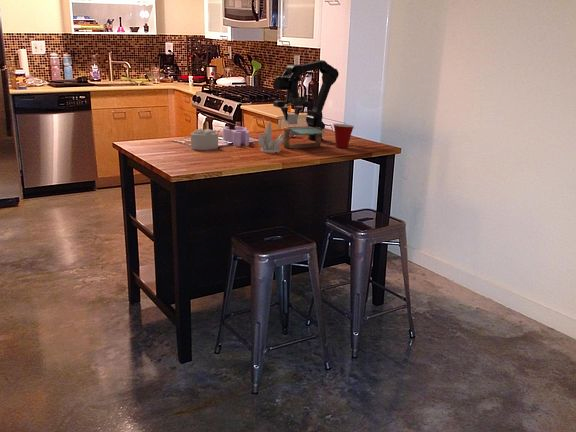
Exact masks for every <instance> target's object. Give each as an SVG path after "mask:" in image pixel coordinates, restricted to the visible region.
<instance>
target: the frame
mask: <svg viewBox="0 0 576 432" xmlns="http://www.w3.org/2000/svg"><path fill="white" fill-rule="evenodd" d="M316 129H319V130H321V129H322V128H320V127H316ZM322 130H323V129H322ZM290 131H291V129H287V128H284V129H283V138H284V139H283V148H284V149H297V148H298V149H300V148H316V147H321V145H322V142H321V141H322V140H321V133H317V134H316V140H314V142H310V143H309V142H308V143H290V137H291V135H290Z"/></svg>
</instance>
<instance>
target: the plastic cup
mask: <svg viewBox="0 0 576 432" xmlns="http://www.w3.org/2000/svg"><path fill="white" fill-rule="evenodd" d="M354 127H355V125H353V124H347V123H333V128H334V136H335V146H336V148H337V149H348V147H349V144H350V141H351V136H352V132H353V129H354Z"/></svg>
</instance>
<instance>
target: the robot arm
mask: <svg viewBox="0 0 576 432" xmlns="http://www.w3.org/2000/svg"><path fill="white" fill-rule="evenodd" d="M315 70H316V71H317V70H319V72H320V73H321V75H322V76H321V82H322V83H321V87H320V89H319V92H318V94H317V97H316V100H315V103H314V104H313V105H314V106H313V108H312V109H311V110H310V109H308V111H307V114H306V115H305V122H306V124H307V126H311V127H314V128H316V127H320V128H322V129H321V130H322V131H323V130H325V128H326V124H325V123H324V122H323V117H324V116H323V109H324V107H325V104H326V100H327V98H328V96H329V93H330V91H331V87H332V86H333V85H334V84H335V83H336V82H337V80H338V78H339V74H340V73H339V70H338V69H337V68H335V67H334V66H332V65H331V64H329V63H328V61H326V60H322V59H318V60H316V61H312V62H307V63H303V64H288V65H287V66H286V67H285V70H284V72H283V73H282V75H281V76H275V79H274V81H273V82H272V83H273V84H272V85H273V89H274V90H275V91H285V95H286V99H285V100H274V101H273V104H272V105H273V107H275V108H280V110H281V112H282V114H283V117H284V121H285V120H286V121H287V113H288V110H289V107H288V106H290V107H292V106H294V114H298V116H300V113H301V111H302V110H303V109H305V108H310V107H311V104H310V101H308V100H307V98H306V96H304V95H303V96H300V92H299V82H302V81H303V80H302V78H300V76H302V75H303V74H304V73H308V72H312V71H315ZM307 139H308V140H311V141H315V140H316V134H314V135H308V137H307ZM323 140H324V138H323V133H321V141H323Z"/></svg>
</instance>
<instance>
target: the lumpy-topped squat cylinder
mask: <svg viewBox="0 0 576 432" xmlns="http://www.w3.org/2000/svg"><path fill="white" fill-rule="evenodd" d="M190 149H192V150H200V151H207V150H215V149H219V133H218V132H216V131H215V130H213V129H210V128H206V129H202V128H198V129H195V130H194V131H192V132H191V133H190Z"/></svg>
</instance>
